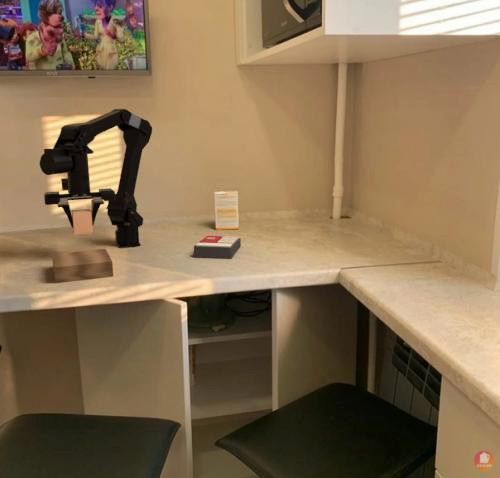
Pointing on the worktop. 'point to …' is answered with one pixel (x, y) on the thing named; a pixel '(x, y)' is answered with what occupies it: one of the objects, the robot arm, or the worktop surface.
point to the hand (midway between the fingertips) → (82, 226)
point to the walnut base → (82, 265)
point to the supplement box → (226, 210)
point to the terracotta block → (82, 221)
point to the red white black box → (217, 247)
